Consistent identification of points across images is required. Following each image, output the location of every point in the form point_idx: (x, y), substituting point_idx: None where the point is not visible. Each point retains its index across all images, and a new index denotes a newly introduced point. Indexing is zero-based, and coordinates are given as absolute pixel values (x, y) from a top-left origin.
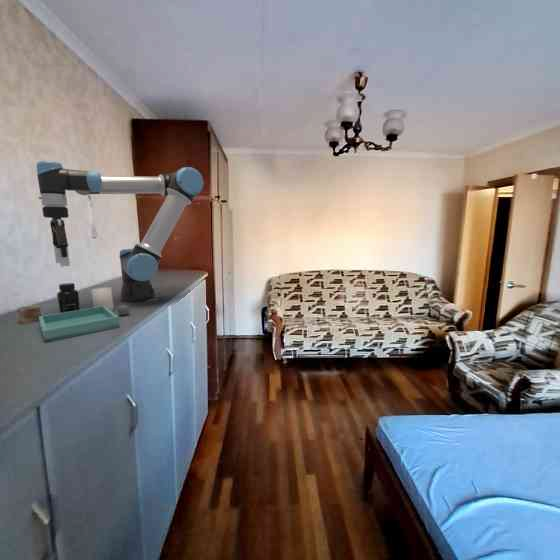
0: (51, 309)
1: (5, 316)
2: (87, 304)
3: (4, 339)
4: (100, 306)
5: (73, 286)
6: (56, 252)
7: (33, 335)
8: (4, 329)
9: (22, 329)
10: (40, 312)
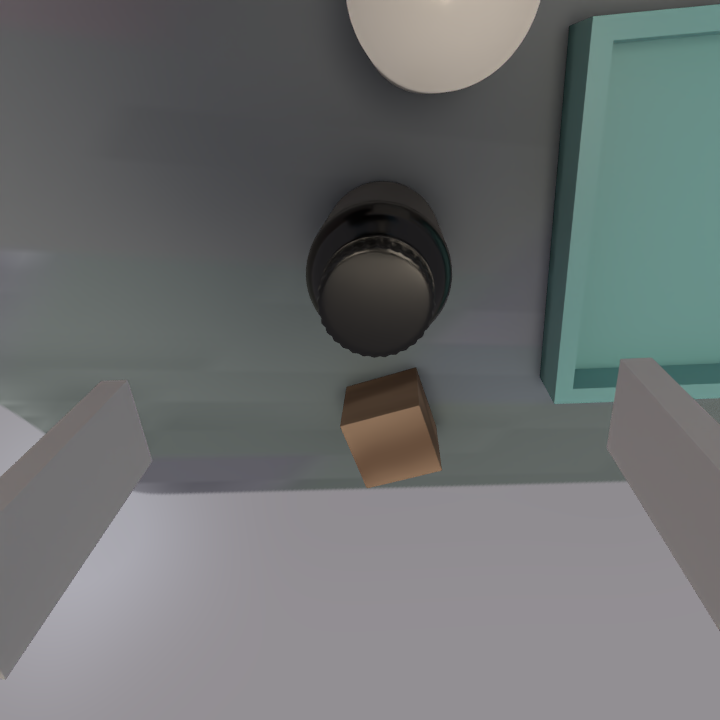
0: (173, 322)
1: (211, 490)
2: (141, 112)
3: None
4: (595, 52)
5: (403, 249)
6: (69, 559)
7: None
8: (469, 485)
9: (532, 434)
10: (418, 390)
